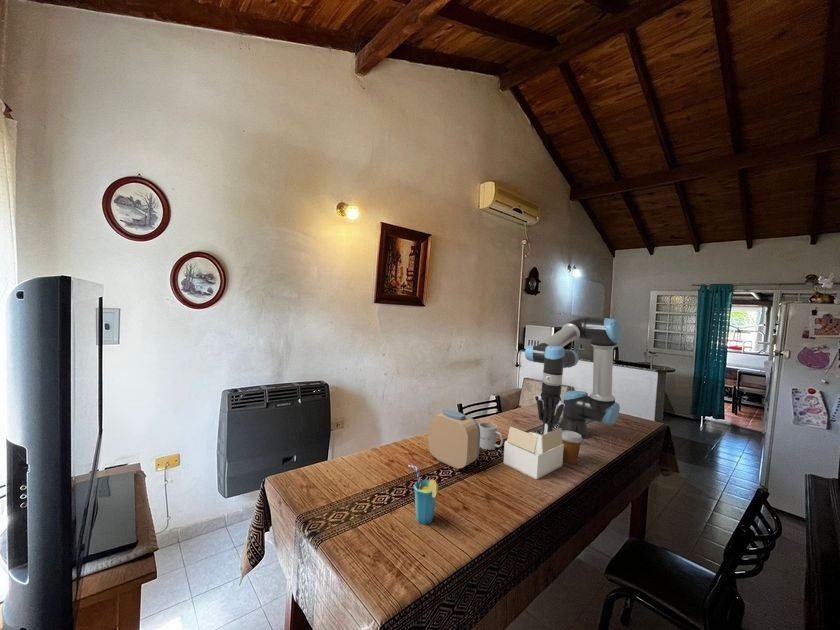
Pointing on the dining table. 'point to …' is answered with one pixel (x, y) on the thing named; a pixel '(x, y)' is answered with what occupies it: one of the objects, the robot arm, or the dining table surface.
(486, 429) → the mug
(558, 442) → the long flap
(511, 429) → the short flap
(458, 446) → the alarm clock
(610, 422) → the robot arm
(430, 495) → the cup
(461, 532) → the dining table surface
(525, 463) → the carton
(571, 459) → the disposable coffee cup
